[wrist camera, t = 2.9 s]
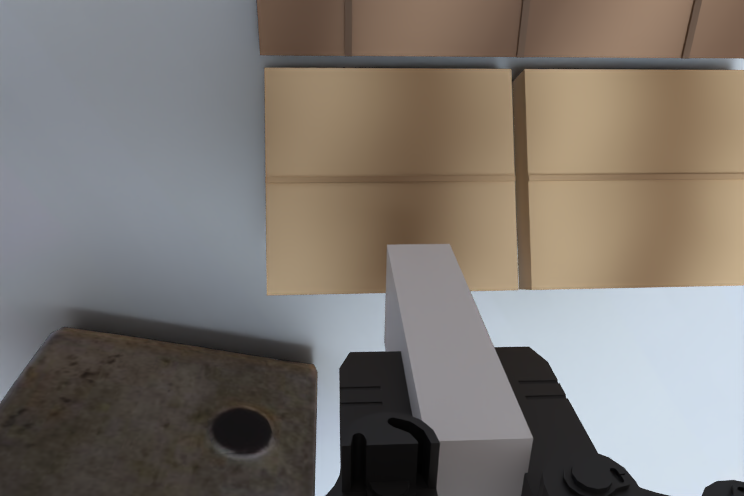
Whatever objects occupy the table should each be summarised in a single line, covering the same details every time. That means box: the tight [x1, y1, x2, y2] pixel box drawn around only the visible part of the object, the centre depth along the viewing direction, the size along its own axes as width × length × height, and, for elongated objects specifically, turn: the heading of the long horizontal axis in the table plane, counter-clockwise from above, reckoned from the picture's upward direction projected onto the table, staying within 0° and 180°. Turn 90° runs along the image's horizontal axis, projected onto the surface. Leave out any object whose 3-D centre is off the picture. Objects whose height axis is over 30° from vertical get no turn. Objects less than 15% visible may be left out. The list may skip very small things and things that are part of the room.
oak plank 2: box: [512, 69, 744, 290], centre depth 18 cm, size 7×6×1 cm
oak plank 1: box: [264, 68, 518, 295], centre depth 18 cm, size 7×6×1 cm
